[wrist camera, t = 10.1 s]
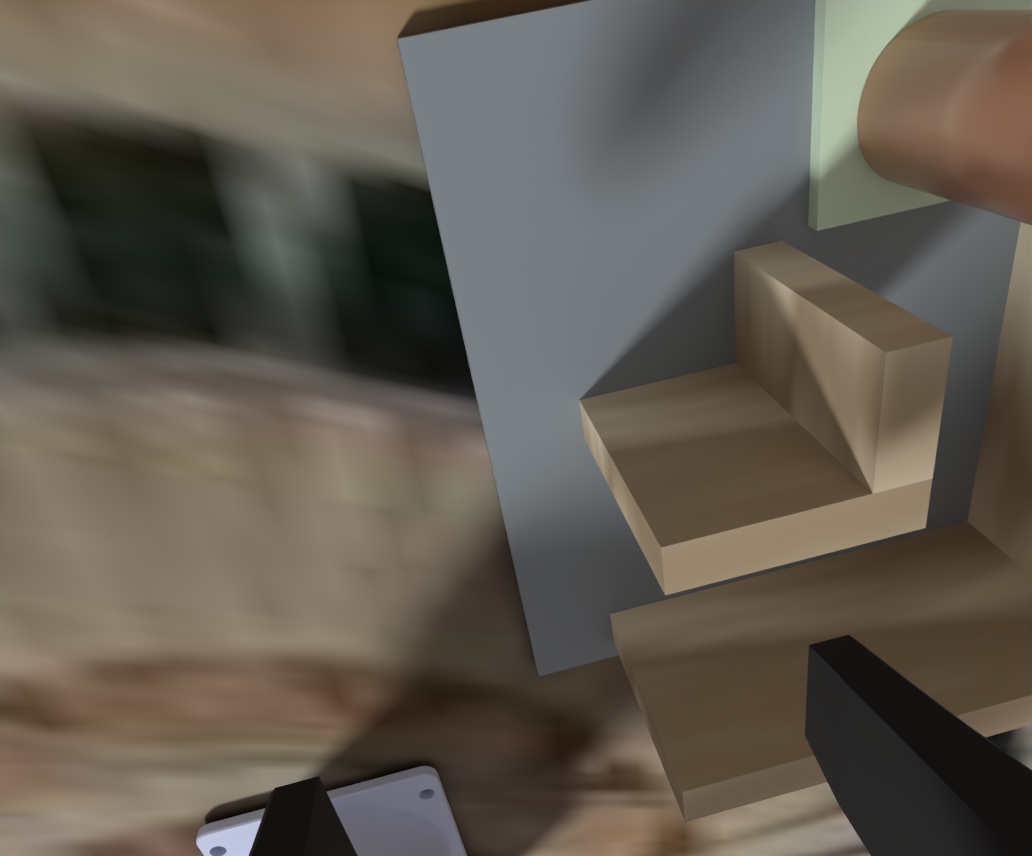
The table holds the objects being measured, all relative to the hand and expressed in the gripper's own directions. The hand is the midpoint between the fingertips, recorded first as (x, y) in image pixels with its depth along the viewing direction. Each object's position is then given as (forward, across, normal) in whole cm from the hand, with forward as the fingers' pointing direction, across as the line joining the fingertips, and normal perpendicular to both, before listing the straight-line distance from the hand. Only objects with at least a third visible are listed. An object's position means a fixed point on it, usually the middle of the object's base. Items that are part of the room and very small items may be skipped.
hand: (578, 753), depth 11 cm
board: (+10, -8, 0) cm, 13 cm away
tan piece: (+9, -9, +3) cm, 13 cm away
